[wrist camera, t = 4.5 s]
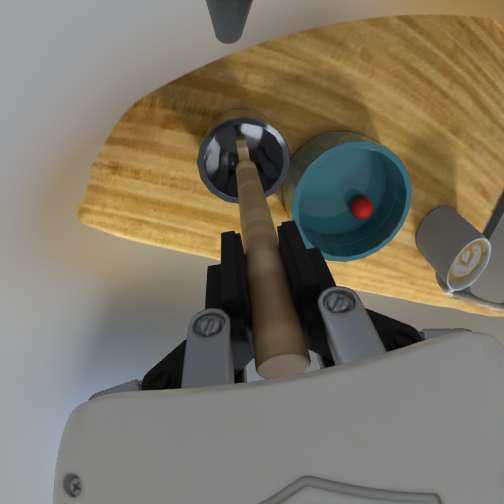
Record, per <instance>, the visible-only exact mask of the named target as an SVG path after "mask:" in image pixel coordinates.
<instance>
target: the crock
mask: <svg viewBox="0 0 504 504" xmlns="http://www.w3.org/2000/svg"><path fill="white" fill-rule="evenodd" d="M243 134H244V136H245V140H246V143H247V147H248V152H249V158H250V161H252V162H253V163H254V164H255V165H256V168H257V171H258V174H259V177H260V181H261V184H262V187H263V191H264V194H265V197H268V196H270V195H271V194H273V193H275V192H276V190H277V189H278V188H279V187H280V185H281V184H282V183H283V182H284V181H285V179H286V175H287V172H288V169H289V165H290V158H289V150H288V146H287V144H286V142H285V140H284V139H283V137H282V135H281V134H280V132H279V131H278V130H277V129H276V128H275V127H274V126H273V125H272V124H271V123H270V122H269V121H268V120H267V119H266V118H265V117H263V116H262V115H260V114H259V113H257V112H256V111H253V110H249V109H243V108H238V109H232V110H228V111H226V112H224V113H222V114H220V115H219V116H217V117H216V118H215V119H214V120H213V121H212V123H211V124H210V126H209V127H208V129H207V131H206V133H205V135H204V138H203V140H202V142H201V145H200V149H199V154H198V160H197V165H198V169H199V173H200V177H201V180H202V181H203V183H204V184H205V185H206V187H207V188H208V189H209V191H210V192H211V193H213V194H214V195H216V196H218V197H219V198H221V199H223V200H224V201H227V202H232V203H238V204H239V198H238V188H237V177H236V166H237V165H238V163H239V162H240V161H239V156H238V151H237V144H236V136H237V135H243Z"/></svg>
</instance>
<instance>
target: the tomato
mask: <svg viewBox="0 0 504 504" xmlns="http://www.w3.org/2000/svg"><path fill="white" fill-rule="evenodd" d="M351 211H352V214H353V215H354V216H355V217H356V218H358V219H362V220H363V219H367V218H368V217H370V215H371V214H372V211H373V206H372V203H371V202H370V201H369V200H368V199H367V198H364V197H359V198H357V199H355V200H354V201H353V203H352V205H351Z"/></svg>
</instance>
